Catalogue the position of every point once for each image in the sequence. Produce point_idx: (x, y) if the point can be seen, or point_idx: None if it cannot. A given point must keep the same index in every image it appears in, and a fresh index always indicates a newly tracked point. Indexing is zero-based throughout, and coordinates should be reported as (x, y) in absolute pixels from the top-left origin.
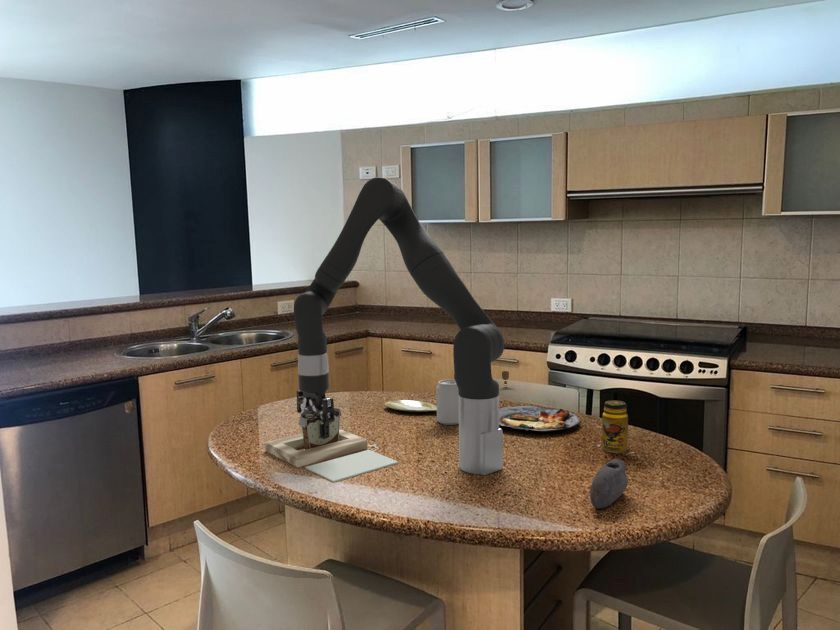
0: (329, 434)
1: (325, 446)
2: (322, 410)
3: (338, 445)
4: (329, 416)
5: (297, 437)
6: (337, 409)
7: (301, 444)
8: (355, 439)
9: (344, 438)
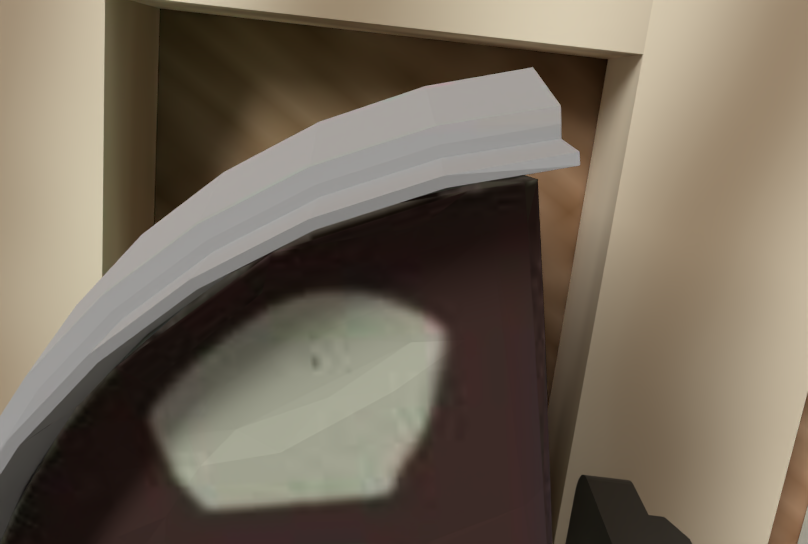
0: (682, 533)
1: None
2: (30, 461)
3: (749, 381)
4: None
5: None
6: (456, 181)
7: None
8: (763, 19)
9: (491, 38)
